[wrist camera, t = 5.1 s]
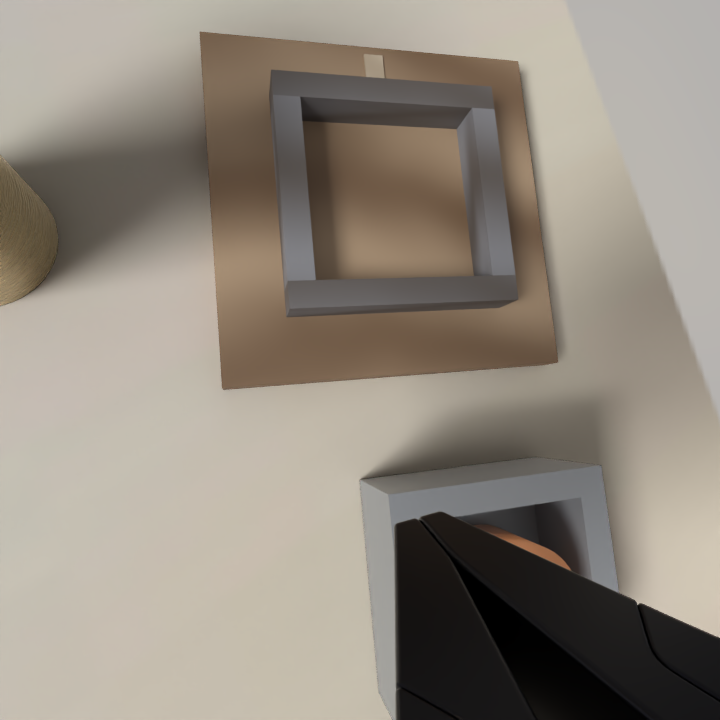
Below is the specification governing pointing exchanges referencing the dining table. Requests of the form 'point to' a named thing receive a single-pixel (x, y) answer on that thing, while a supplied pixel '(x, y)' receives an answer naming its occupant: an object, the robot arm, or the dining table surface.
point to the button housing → (488, 507)
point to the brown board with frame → (370, 213)
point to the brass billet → (23, 237)
